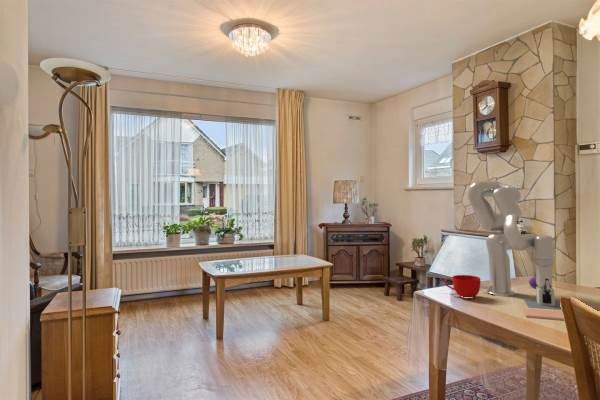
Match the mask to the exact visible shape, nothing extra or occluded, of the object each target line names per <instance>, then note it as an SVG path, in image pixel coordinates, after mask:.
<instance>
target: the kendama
mask: <svg viewBox="0 0 600 400" xmlns="http://www.w3.org/2000/svg"><path fill="white" fill-rule="evenodd" d="M528 281H529V282H528V283H529V286H530V287H531V288H533V289H536V287H539V286H538V285H537V284H536V276H533V277H531V278H530V279H529V280H528Z"/></svg>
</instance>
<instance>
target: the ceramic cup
mask: <svg viewBox="0 0 600 400" xmlns="http://www.w3.org/2000/svg"><path fill="white" fill-rule="evenodd" d="M448 280H449V281H451V283H452V285H453V287H452V286H450V285H448V283H447V281H448ZM480 284H481V278H480V277H479V276H477V275H471V274H470V275H469V274H456V275H453V276H452V278H449V277H447V278H445V279H444V285H445V286H446V287H447V288H449V289H451V290H453V291H455V293H456V295H458V296H459V295H460V296H463V297H474V298H475V297H476V296H478V295H479V292H480V291H481V290H480V289H481V288H480ZM460 296H459V297H460Z"/></svg>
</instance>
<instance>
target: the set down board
mask: <svg viewBox="0 0 600 400" xmlns="http://www.w3.org/2000/svg"><path fill="white" fill-rule="evenodd" d="M522 312H523V313H524V316H525V318H532V319H544V320H555V321H556V320H557V321H565V320H564V318H563V315H564V313H562V310H550V309H537V308H522Z"/></svg>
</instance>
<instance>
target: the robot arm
mask: <svg viewBox="0 0 600 400" xmlns="http://www.w3.org/2000/svg"><path fill="white" fill-rule="evenodd" d="M486 197H487V198H488V197H489V198H492V199H493V200H494V201H493V202H495V205H496V206H497V208H498V210H499V212H500V213H497V212H495V211H494V209H493V207H492V205H491V203H490V202H489V201H488V200H487V199H486ZM467 199H468V200H469V203H470V205H471V207H472V209H473V210H474V213H475V215H476V217H477V219H478V222H479V224H480V226H481V228H482V229H483V231H485V232H490V233H491V234H489V235H488V236H487V238H486V242H485V243H486V244H485V245H486V249H487V253H488V254H487V255H488V266H489V267H488V269H489V270H488V271H489V282H488V283H487V284H481V283H480V289H483V290H486V293H487V292H488V293H490V294H489V295H491V294H493V295H492V296H496V295H499V296H498V297H513V296H515V294H516V293H515V291H514V290H512V285H511V262H510V256H509V253H508V251H510V250H516V251H518V252H519V251H529V250H533V260H534V261H533V262H534V266H535V267H536V269H535V272H536V273H535V277H536V284H537V285H538V286H539V287H540V288H541V287H543V294H542V295H543V303H549V304H551V290H550V288H552V289H553V271H552V268H553V267H555V258H554V257H555V256H554V238H553V236H551V235H545V234H544V235H543V234H541V235H540V234H534V233H524V234H522V233H521V232H520V230H519V228H518V224H517V223H518V219H519V218H520V217H521V216H522V214H523V211H522V210H521V208H520V206H519V204H518V202H519V201H520V200H521V192H520V191H519V189H518V188H516V186H512V185H508V184H506V183H504V182H503V183H502V182H499V181H494V180H493V181H492V180H490V181H489V180H487V181H484V180H482V181H476V182H473V183H472V184H470V186H469V188H468V190H467ZM492 232H494V233H492ZM488 293H487V294H488Z"/></svg>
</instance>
